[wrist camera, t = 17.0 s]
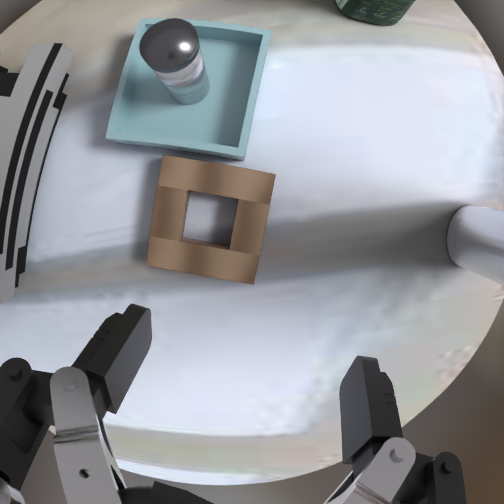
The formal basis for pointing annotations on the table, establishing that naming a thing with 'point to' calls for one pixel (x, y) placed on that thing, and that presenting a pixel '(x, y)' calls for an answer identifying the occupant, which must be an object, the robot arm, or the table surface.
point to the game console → (26, 148)
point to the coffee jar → (375, 10)
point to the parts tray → (200, 114)
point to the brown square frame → (199, 252)
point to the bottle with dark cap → (176, 59)
